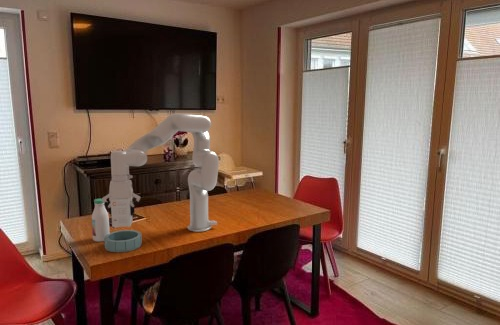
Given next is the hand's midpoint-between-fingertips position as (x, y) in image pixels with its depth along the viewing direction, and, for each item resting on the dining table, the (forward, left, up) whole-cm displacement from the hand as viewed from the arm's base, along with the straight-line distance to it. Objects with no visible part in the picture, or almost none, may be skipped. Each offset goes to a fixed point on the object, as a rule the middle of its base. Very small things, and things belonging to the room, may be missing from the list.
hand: (122, 215), depth 173 cm
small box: (0, 0, -5) cm, 5 cm away
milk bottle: (+12, -11, -15) cm, 22 cm away
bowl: (0, 0, -15) cm, 15 cm away
